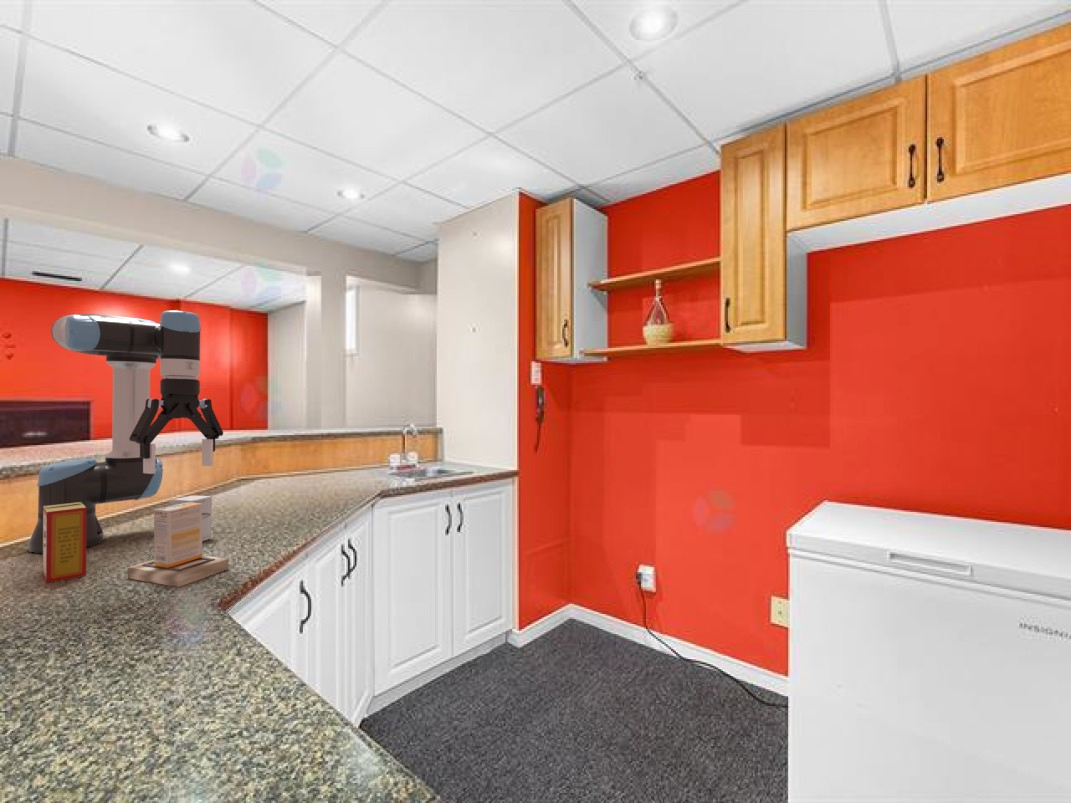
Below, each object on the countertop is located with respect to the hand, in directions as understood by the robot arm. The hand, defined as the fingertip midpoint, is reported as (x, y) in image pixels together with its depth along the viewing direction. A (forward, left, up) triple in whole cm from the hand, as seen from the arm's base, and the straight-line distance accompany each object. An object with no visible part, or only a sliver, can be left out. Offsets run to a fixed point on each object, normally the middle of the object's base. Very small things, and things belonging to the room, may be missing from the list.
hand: (179, 469), depth 116 cm
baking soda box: (-25, -9, -25) cm, 36 cm away
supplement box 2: (0, 0, -22) cm, 22 cm away
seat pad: (0, 0, -24) cm, 24 cm away
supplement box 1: (-23, +20, -25) cm, 39 cm away
